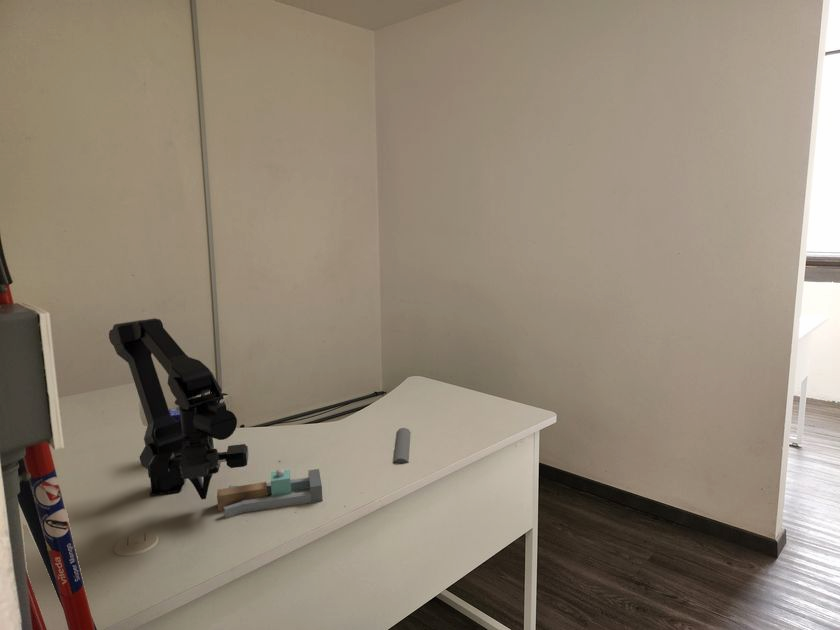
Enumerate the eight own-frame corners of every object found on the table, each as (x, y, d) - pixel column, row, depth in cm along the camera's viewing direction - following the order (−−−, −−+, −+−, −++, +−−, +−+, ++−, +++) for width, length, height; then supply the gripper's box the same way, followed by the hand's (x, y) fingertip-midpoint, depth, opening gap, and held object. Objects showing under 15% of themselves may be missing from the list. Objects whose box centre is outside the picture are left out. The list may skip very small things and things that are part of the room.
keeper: (272, 502, 115) (270, 476, 114) (272, 492, 119) (270, 468, 118) (291, 499, 116) (289, 474, 115) (291, 490, 120) (289, 465, 119)
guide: (223, 518, 110) (222, 502, 109) (228, 493, 119) (226, 478, 119) (323, 503, 114) (322, 488, 114) (319, 480, 124) (318, 466, 124)
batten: (218, 511, 112) (216, 496, 112) (218, 504, 115) (217, 489, 115) (268, 503, 116) (266, 488, 115) (267, 496, 118) (266, 481, 118)
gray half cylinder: (411, 433, 152) (411, 427, 151) (409, 465, 133) (409, 458, 132) (396, 433, 152) (396, 427, 151) (392, 465, 133) (391, 458, 132)
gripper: (136, 449, 100) (146, 526, 103) (241, 437, 105) (248, 511, 108) (150, 427, 111) (158, 497, 114) (245, 417, 115) (251, 485, 118)
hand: (203, 498), depth 113 cm, fingers closed
